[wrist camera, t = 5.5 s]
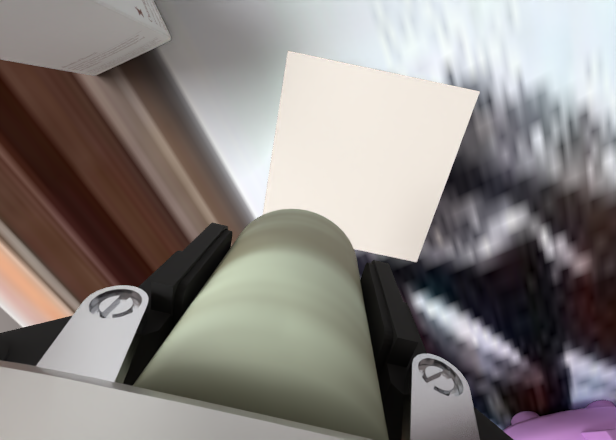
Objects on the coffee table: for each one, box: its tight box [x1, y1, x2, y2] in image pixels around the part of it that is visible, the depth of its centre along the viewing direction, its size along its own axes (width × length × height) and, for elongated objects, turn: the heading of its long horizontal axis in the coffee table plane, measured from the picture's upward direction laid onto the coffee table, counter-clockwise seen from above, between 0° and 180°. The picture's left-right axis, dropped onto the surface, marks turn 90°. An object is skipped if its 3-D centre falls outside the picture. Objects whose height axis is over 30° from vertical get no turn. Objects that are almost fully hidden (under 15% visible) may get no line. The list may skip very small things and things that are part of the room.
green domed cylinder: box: [133, 209, 389, 440], centre depth 8 cm, size 5×5×7 cm
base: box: [263, 51, 480, 262], centre depth 22 cm, size 12×12×4 cm
